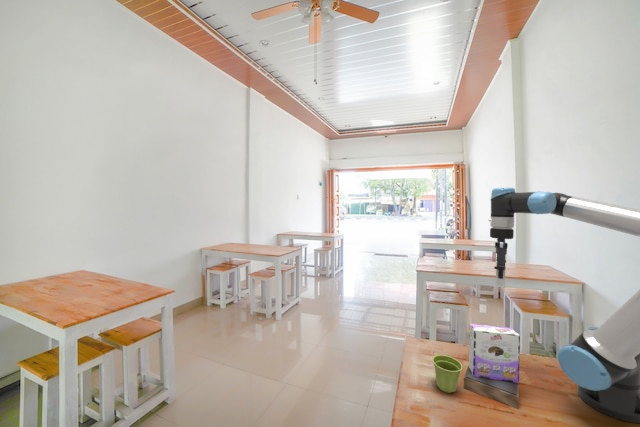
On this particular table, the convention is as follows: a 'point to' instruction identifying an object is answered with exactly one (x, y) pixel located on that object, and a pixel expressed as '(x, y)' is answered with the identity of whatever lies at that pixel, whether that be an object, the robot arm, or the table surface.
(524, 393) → the table surface
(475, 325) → the candy box
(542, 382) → the table surface
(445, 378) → the plant pot
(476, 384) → the plinth
